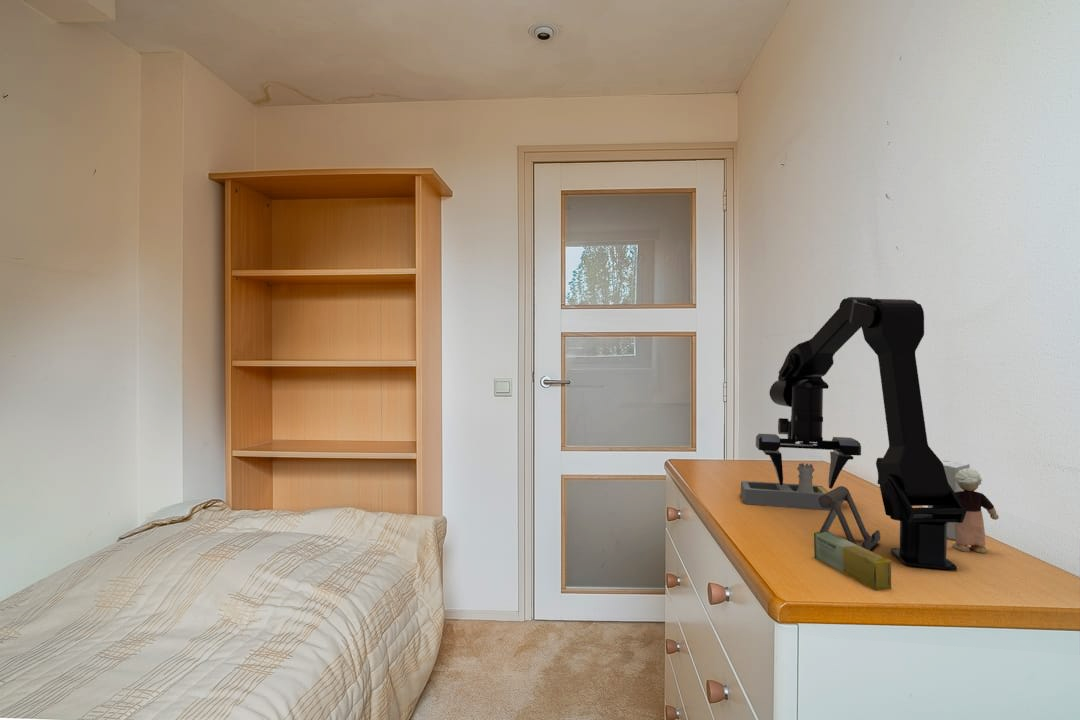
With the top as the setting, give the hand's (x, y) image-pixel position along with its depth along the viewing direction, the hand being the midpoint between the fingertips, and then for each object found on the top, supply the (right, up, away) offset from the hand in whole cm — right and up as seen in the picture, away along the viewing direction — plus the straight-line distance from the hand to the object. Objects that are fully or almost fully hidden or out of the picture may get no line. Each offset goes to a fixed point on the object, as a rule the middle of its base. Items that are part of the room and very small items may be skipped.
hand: (805, 486), depth 114 cm
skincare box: (+16, -4, -18) cm, 24 cm away
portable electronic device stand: (-5, -4, -24) cm, 25 cm away
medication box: (-11, -4, -36) cm, 38 cm away
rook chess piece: (0, -4, 0) cm, 4 cm away
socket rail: (-4, -3, +1) cm, 5 cm away
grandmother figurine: (+13, -4, -26) cm, 29 cm away
